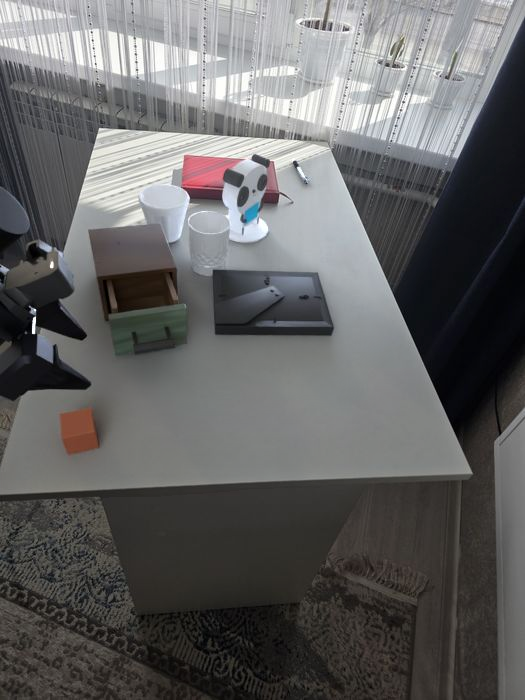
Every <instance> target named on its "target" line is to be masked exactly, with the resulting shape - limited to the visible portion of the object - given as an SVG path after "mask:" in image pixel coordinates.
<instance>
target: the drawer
mask: <svg viewBox="0 0 525 700" xmlns="http://www.w3.org/2000/svg"><path fill="white" fill-rule="evenodd" d="M106 285H107V291H108V297H109V303H110V308H111V313H112V314H108V317H109V321H108V322H109V328H110V333H111V339H112V346H113V352H114V356H115V357H116V356H117V357H118V356H122V355H128V354H134V355H135V356H138V355H143V354H149V353H154V352H155V353H156V352H160V351H167V350H171V349H176V346H183V345H186V344H188V336H187V335H188V331H187V329H188V328H187V327H188V325H187V322H188V321H187V320H188V319H187V317H188V316H187V306H186V304H185V303H179V296H178V297H177V294H176V292H175V289H174V286H173V283H172V280H171V277H170V274H169V272H165V273H157V274H148V275H140V276H132V277H123V278H115V279H107V280H106Z"/></svg>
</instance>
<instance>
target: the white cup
mask: <svg viewBox="0 0 525 700" xmlns="http://www.w3.org/2000/svg"><path fill="white" fill-rule="evenodd" d="M226 216H227V215H224V214H223V213H220V212H217V211H211V210H210V211H209V210H204V211H198V212H195V213H192V215H190V216H189V217H188V219H187V228H188V229H187V231H188V245H189V254H190V267H191V269H192V270H193V272H195V273H196V274H198V275H200V276H205V277H212V276H213V270H226V260H227V257H228V251H229V244H230V239H229V235H230V227H231V222H230V220H229V219H228V218H227V217H226Z"/></svg>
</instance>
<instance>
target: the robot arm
mask: <svg viewBox="0 0 525 700" xmlns="http://www.w3.org/2000/svg"><path fill="white" fill-rule="evenodd" d="M29 230H30V220H29V217H28V214H27V213H26V210H25V209H24V207H23V206H22V205H21V203H20V202H19V201H18V200H17V198H16V197H15V196H14V195H12V194H11V193H10V192H9V191H8V190H6V189H5V188H4V187H2V186H0V255H2V253H4V252H5V251H6V250H7V249H9V248H10V247H11V246H12V245H14V244H15V243H16V242H17V241H18V240H19V239H21V238H22V237H23V236H24V235H26V233H27V232H28V231H29ZM25 258H26V259H25V260H26V261H25V260H24V259H21V260H19V263H18V264H19V265H17V266H15V267H12V268H11V269H9V268H7V267H5V266H4V265H2V264H0V347H1V346H2V345H3V344H4V343H6V342H7V343H10V346H8V347H7V348H6V349H4V351H2V353H0V397H1V398H3V399H5V400H8V401H10V402H15V401H16V400H17V399H18V398H19V397H21V396H22V397H23V396H24V395H25V394H26V393H28V392H30V391H47V390H48V391H49V390H57V391H59V390H62V391H63V390H64V391H65V390H68V391H86V390H88V389H89V388H90V387H92V382H91V380H89V379H88V378H87V377H86V376H84V375H83V374H81V373H80V372H79V371H77V369H75V368H73V367H72V366H71V365H69V364H68V363H66V362H65V361H63V360H62V359H61V358H60V355H59V348H58V344H57V343H55V344H53V345H52V344H51V342H50V341H49V340H48V338H46V337H45V336H43V335H41V334H40V333H37V332H36V328H37V327H38V328H40V329H43V330H46V331H49V332H52V333H55V334H58V335H60V336H64V337H66V338H68V339H69V338H70V339H73V340H77V341H79V342H80V341H81V342H83V341H84V340H86V339H87V337H88V333H87V332H86V330H85V329H84V328H83V327H82V325H80V324H79V323H78V321H77V320H76V318H75V317H73V315H72V314H71V313H70V311H69V310H68V309H67V308H66V307H65V306H64V304H63V303H62V301H61V300H64V299H67V298H68V297H70V296H72V295H73V294H74V292H75V290H76V289H75V285H74V284H75V283H74V278H75V275H74V272H73V271H72V270H71V268H70V267H69V265H68V263H67V262H66V261H65V254H64V252H63V251H61V250H58V249H57V247H55V246H53V247H52V246H51V245H49V244H47V243H45V241H42V240H41V239H38V238H37V239H34V240H32V241H30V242H27V243H26V244H25Z"/></svg>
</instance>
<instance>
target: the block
mask: <svg viewBox="0 0 525 700" xmlns="http://www.w3.org/2000/svg"><path fill="white" fill-rule="evenodd" d="M59 421H60V434H61V435H60V436H61V440H62V444H63V446H64V448H65V452H66V455H67V456H69V455H74V454H79V453H82V452H87V451H92V450H96V449H99V448H100V445H99V437H98V431H97V424H96V421H95V416H94V412H93V409H92V407H87V408H82V409H76V410H72V411H66V412H61V413H59Z"/></svg>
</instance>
